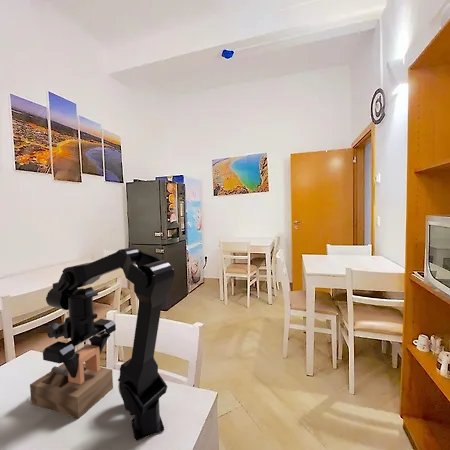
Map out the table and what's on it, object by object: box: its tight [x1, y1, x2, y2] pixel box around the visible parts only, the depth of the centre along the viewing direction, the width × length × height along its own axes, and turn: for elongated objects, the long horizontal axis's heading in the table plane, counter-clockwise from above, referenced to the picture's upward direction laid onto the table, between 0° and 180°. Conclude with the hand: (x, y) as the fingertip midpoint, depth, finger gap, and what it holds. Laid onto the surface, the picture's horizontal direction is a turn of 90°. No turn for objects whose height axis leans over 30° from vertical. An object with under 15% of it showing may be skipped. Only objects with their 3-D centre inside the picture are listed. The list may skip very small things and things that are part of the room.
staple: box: [68, 344, 101, 384], centre depth 75 cm, size 7×4×6 cm, turn 161°
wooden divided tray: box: [29, 362, 114, 420], centre depth 77 cm, size 16×12×7 cm
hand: (84, 369), depth 75 cm, fingers closed on staple, 7 cm apart
